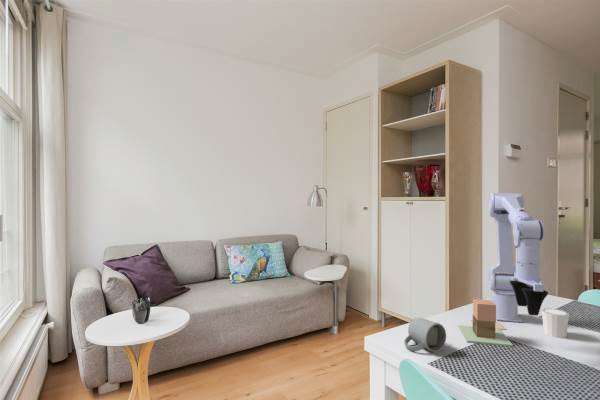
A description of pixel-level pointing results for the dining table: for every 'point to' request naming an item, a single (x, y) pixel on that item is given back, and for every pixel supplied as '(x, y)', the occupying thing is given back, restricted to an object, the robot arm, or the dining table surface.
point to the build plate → (472, 338)
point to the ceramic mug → (425, 335)
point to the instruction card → (498, 325)
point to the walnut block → (483, 328)
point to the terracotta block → (484, 310)
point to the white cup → (555, 322)
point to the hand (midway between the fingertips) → (527, 310)
